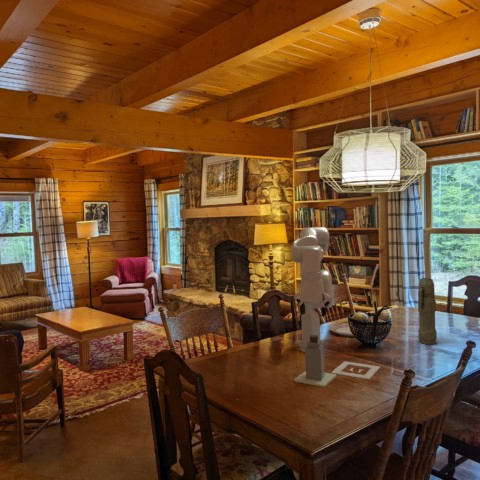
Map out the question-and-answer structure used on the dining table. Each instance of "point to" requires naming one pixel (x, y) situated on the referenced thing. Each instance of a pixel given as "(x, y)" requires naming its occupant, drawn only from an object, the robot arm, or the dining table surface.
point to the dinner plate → (341, 329)
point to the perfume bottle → (314, 359)
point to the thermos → (427, 312)
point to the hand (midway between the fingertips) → (313, 315)
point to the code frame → (366, 376)
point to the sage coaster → (326, 380)
